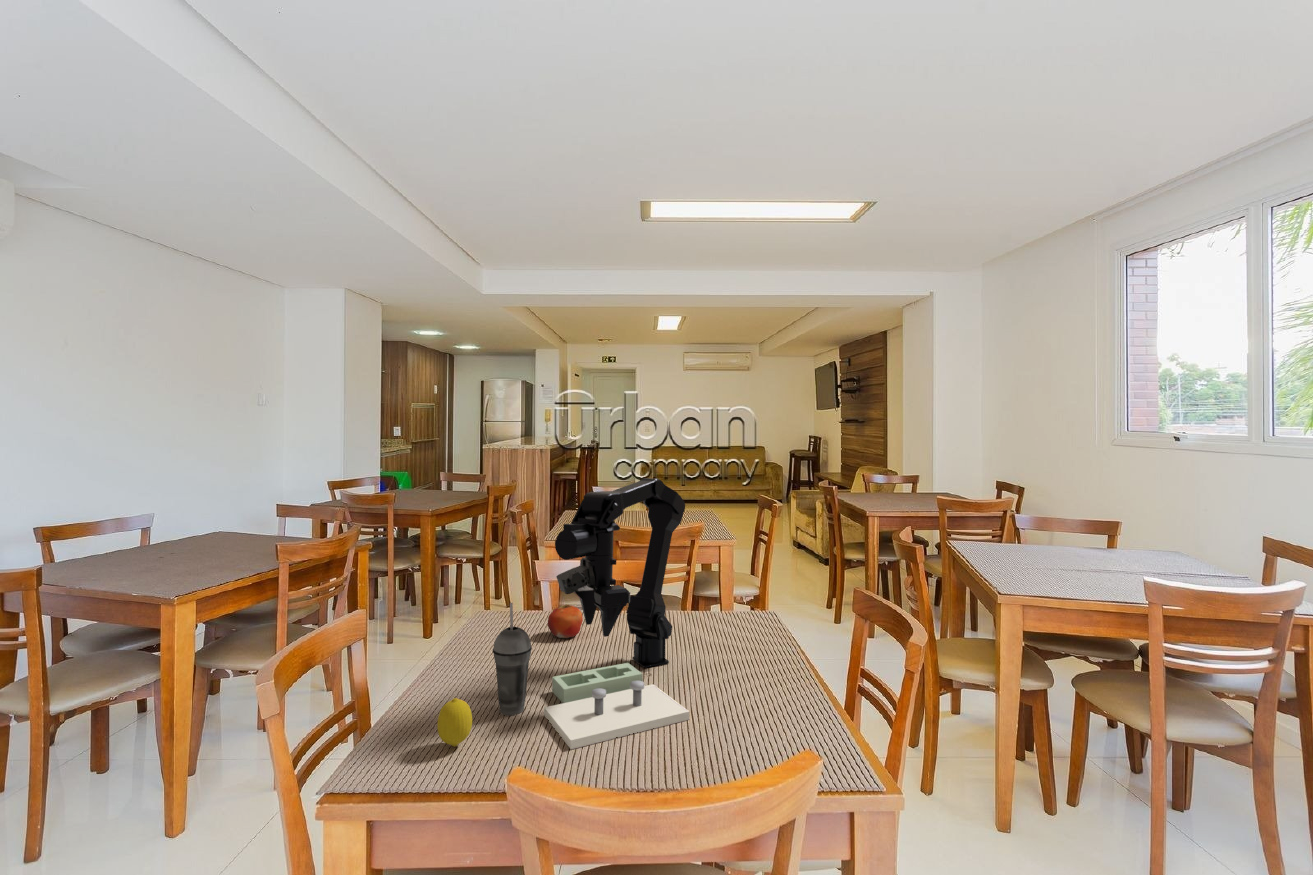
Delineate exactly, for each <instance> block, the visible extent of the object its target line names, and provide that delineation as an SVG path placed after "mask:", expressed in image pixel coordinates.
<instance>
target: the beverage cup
mask: <svg viewBox="0 0 1313 875" xmlns="http://www.w3.org/2000/svg"><path fill="white" fill-rule="evenodd" d="M513 606H514V604H513V602H509V624H510V626H509V627H506V628H504V629H502V631H500V632H499V633H498V635H497V636H496V638H495V640H494V641H493V642H494V644H493V648H492V653H493V659H494V663H495V673H496V674H495V675H496V686H497V698H498V708H499V713H500V714H501V715H503V716H515V715H514V714H517V715H519V714H522V713H524V711H523V710H525V704H526V697H527V685H528V678H529V677H528V675H529V674H528V673H529V664H530V659H531V655H532V650H533V648H532V642H531V639H530V636H529V634H528V633H527V632H526V631H525V630H524V629H522V628H521V627H520V626H519V627H518V626H514V614H513V612H514V610H513ZM521 712H522V713H521Z"/></svg>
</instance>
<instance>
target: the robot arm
mask: <svg viewBox="0 0 1313 875" xmlns="http://www.w3.org/2000/svg"><path fill="white" fill-rule="evenodd" d="M638 503H643V505H644V506H645V507H646V508H647V509H648V510H647V511H648V512H647V518H648V520H649V524H650V526H651V532H650V533H651V534H650V539H649V542H648V548H647V553H646V557H645V563H644V568H643V573H642V579H641V583H640V584H641V585H640V588H639V590H638V591H637V592H636V594H635V595H633V594H631V592H630V591H629V590H628V589H627V588H626V587H624V586H622V585H619V584H616V583H617V579H615V578H614V577H613V571H614V570H613V566H614V565H615V566H616V565H617V559H616V558H614V533H615V532H616V531H620V529H621V527H620V526H619V524H618V523H616V522H615V520H616V519H618V518H619V517H621V516H622V515H624V511H625V509H627V508H629V507H632V506H635V505H636V504H638ZM685 511H686V503H685V501H684V499H683V498H682V496H681V495H680V494H679V493H678V491H676V490H674V489H673V488H670V487H669V486H667V485H666V484H665V483H664V482H663V480H660V479H659V478H650V477H649V478H648V477H647V478H646V477H645V478H641V479H640V480H639V481H636V482H635V481H634V482H633V483H630V484H628V485H624V486H623V487H619V488H617V489H614V490H609V491H608V490H605V491H603V490H602V491H601V490H600V491H590V492H586V493H585V494H584V495H583V499H582V501H581V502H580V504H579V506H578V509H577V511H576V512H575V514H574V515H573V518H572V521H571V522H570V523H564V524H563V530H561V531H560V532H559V533H558V534H557V537H556V539H555V540H554V547H555V552H556V554H557V555H558V556H559V557H560V558H561V559H562V560H565V561H567V560H574V559H578V558H581V559H580V562H579V563H580V564H579V566H576V567H572V568H570V569H568V570H566V571H564V572H560V573H558V574H557V575H556V577H555V578H556V580H557V583H558V586H559V589H560V591H561V592H563V593H564V594H565V595H570V594H573V593H574V594H575V595H576V596H577V597H578V598H579V601H580V604H581V609H582V615H583V616H584V617H583V618H584V621H585V624H586V625H588V626H590V625H592V624H593V621H594V618H595V614H596V611H597V609H598V610H599V611H600V612H599V613H600V619H601V620H600V622H601V630H602V635H603V637H605V638H606V637H609V636H610V635H611V632H612V630H613V628H614V626H615V624H616V622H617V620H618V618H619V616H620V615H621V613H622V611H623V609H624V608H625V607H627V606H628V607H627V610H626V611H625V613H626V622H627V624H628V630H629V633H630V634H631V635H635V641H634V642H633V656H632V658H631V659H632V660H633V661H634V662H636V663H637V664H638V665H640V666H641V667H642V668H645V669H646V668H651V667H655V666H660V665H661V666H662V665H665V664H667V665H668V664H669V663H670V661H669V659H667V658H666V640H668V639H669V638H670V637H671V636H672V631H673V625H672V623H671V622H670V621H669V620H668V618H667V617H666V603H665V601H664V598H663V595H662V591H663V586H664V580H665V574H666V569H667V564H668V557H669V553H670V547H671V543H672V536H673V533H674V531H675V530H676V529H677V528H679V525H681V523H682V520H683V517H684V516H683V515H684V513H685ZM614 531H615V532H614Z"/></svg>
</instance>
